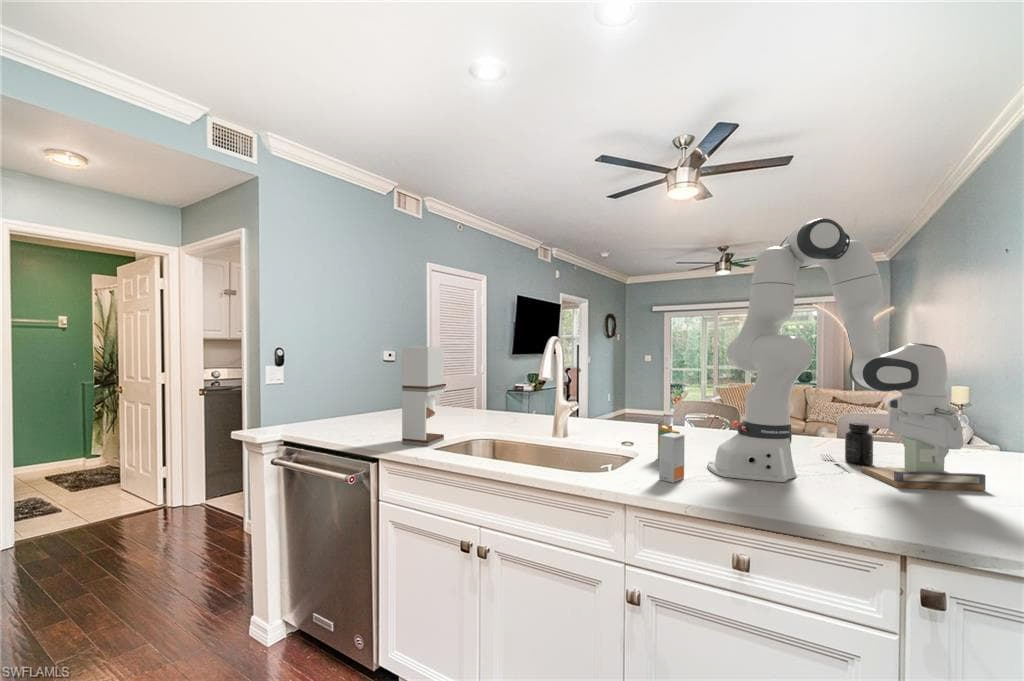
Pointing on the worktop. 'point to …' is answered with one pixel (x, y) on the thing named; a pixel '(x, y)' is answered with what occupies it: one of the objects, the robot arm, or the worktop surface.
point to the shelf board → (927, 479)
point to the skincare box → (671, 457)
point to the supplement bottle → (859, 445)
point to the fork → (837, 464)
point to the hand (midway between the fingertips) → (923, 458)
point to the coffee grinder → (420, 392)
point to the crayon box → (664, 432)
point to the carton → (920, 457)
